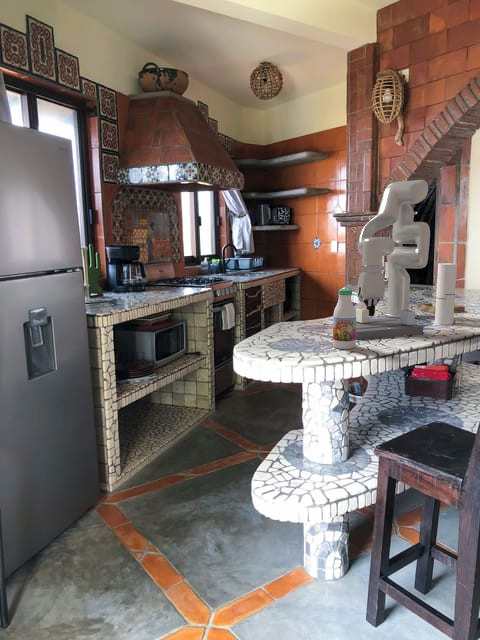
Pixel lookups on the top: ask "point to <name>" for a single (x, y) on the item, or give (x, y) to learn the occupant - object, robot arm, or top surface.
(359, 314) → the cream fader
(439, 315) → the cylindrical container
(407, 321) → the grey fader
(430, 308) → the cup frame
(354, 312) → the milk bottle
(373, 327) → the fader console
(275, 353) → the top surface
